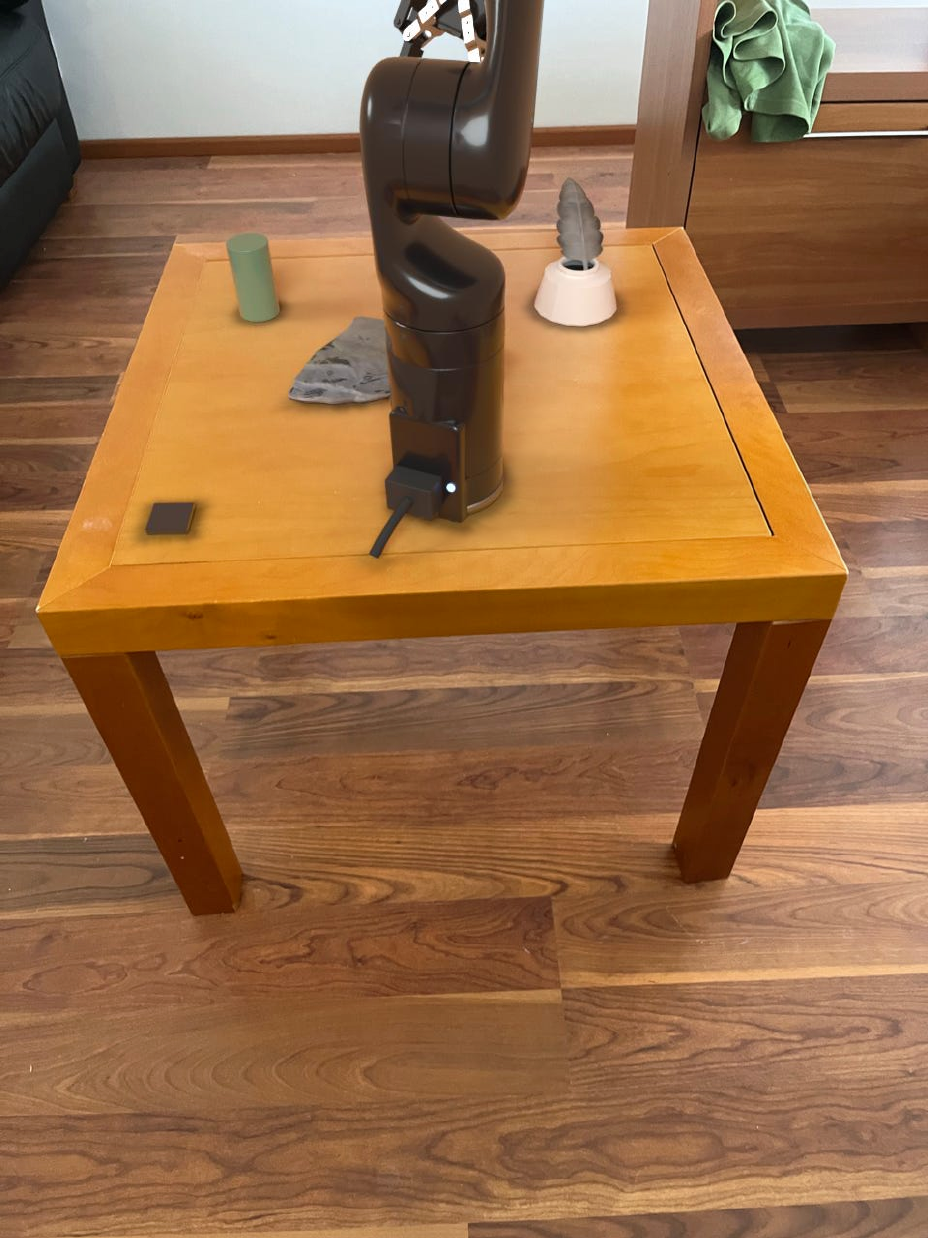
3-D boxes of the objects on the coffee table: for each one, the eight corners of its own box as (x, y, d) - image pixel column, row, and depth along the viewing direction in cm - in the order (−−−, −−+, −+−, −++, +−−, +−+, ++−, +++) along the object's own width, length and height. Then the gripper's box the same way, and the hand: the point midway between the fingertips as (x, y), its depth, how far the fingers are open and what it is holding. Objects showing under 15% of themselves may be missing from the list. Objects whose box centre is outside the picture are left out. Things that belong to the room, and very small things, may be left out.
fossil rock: (499, 350, 98) (499, 329, 96) (462, 432, 88) (461, 410, 86) (341, 329, 101) (338, 309, 99) (288, 406, 91) (285, 385, 90)
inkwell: (540, 329, 100) (544, 238, 93) (517, 254, 113) (520, 168, 106) (625, 324, 101) (635, 233, 94) (593, 249, 113) (601, 164, 106)
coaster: (188, 533, 78) (186, 528, 78) (146, 534, 78) (144, 529, 78) (195, 507, 81) (194, 501, 80) (155, 507, 81) (153, 502, 80)
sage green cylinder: (266, 325, 102) (253, 254, 96) (232, 317, 103) (217, 247, 97) (287, 306, 105) (275, 236, 99) (253, 299, 106) (240, 229, 100)
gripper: (419, -117, 90) (361, 64, 97) (530, -73, 84) (460, 115, 92) (463, -84, 96) (405, 84, 103) (570, -41, 90) (501, 133, 98)
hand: (431, 98), depth 97 cm, fingers open, 8 cm apart
